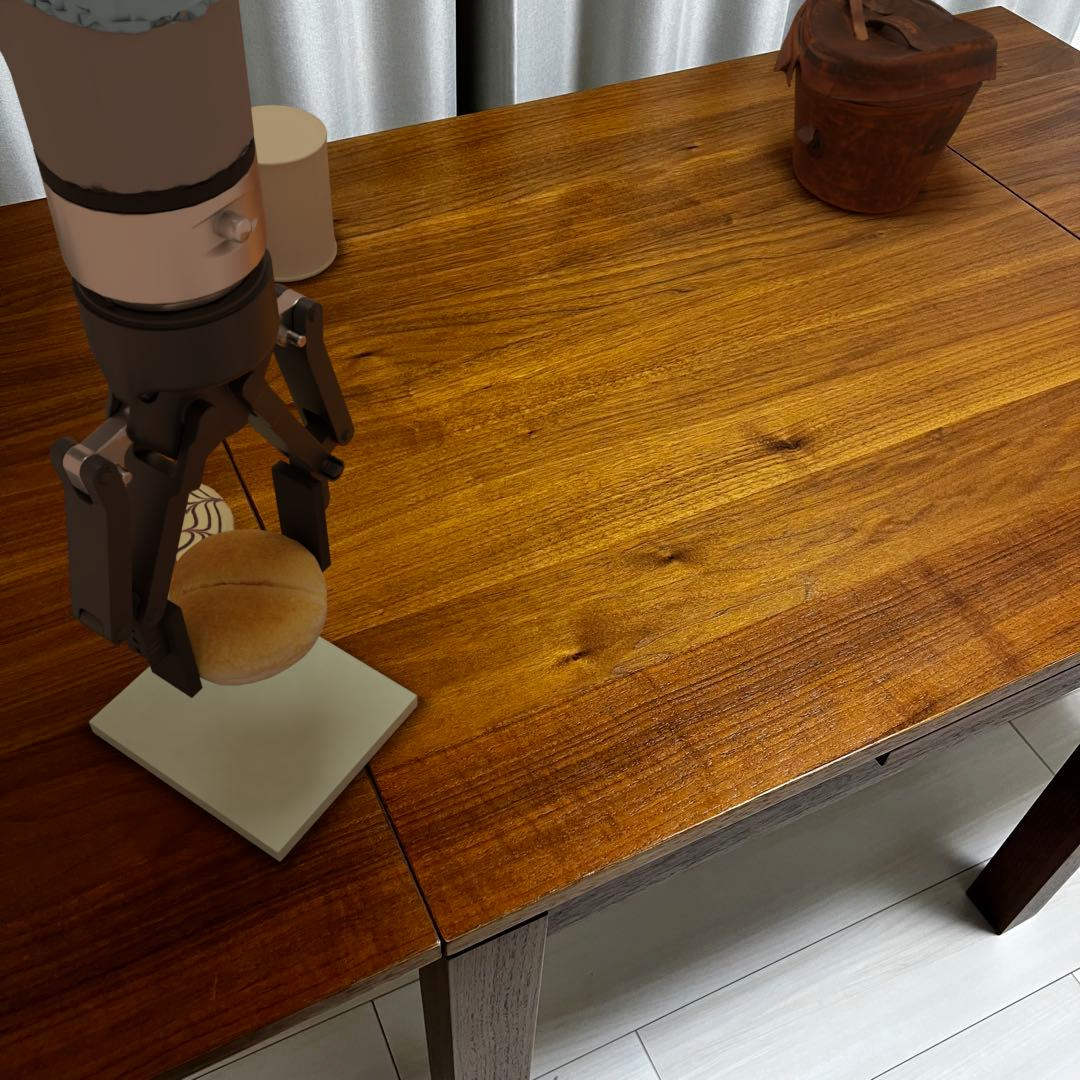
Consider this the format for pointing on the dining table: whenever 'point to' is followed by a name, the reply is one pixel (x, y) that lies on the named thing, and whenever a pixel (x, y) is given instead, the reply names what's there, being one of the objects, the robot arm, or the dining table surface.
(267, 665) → the bread roll
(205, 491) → the decorated donut
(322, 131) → the can
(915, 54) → the case
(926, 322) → the dining table surface
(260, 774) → the scale
